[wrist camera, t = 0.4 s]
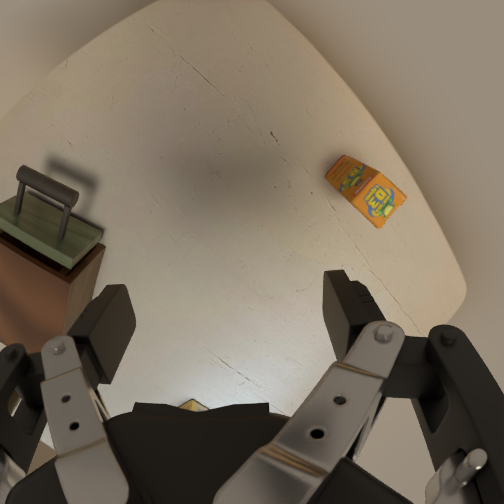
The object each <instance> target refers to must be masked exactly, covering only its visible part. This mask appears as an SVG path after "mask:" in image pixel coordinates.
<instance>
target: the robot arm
mask: <svg viewBox="0 0 504 504" xmlns="http://www.w3.org/2000/svg"><path fill="white" fill-rule="evenodd" d="M323 317H324V321H325V324H326V327H327V330H328V334H329V337H330V340H331V343H332V346H333V349H334V352H335V355H336V359H337V361H335V362H333V363H332V364H331V366H330V367H329V368H328V370H327V371H326V373H325V374H324V375H323V377H322V378H321V379H320V381H319V382H318V383H317V385H316V386H315V387H314V389H313V390H312V391H311V393H310V394H309V395H308V397H307V398H306V399H305V401H304V402H303V403H302V404H301V406H300V407H299V408H298V409H297V411H296V412H295V413H294V414H293V416H292V417H288V416H285V415H281V414H277V413H271V412H269V403H254V404H233V405H229V406H224V407H220V408H215V409H210V410H205V411H199V412H197V411H191V410H187V409H183V408H179V407H175V406H171V405H167V404H154V403H138V402H135V404H134V407H133V410H132V412H128V413H123V414H120V415H117V416H115V417H112V418H111V417H110V414H109V412H108V410H107V408H106V406H105V403H104V401H103V399H102V396H101V394H100V392H99V390H98V388H97V387H98V384H99V383H100V384H111V382H112V380H113V378H114V375H115V373H116V371H117V368H118V366H119V364H120V362H121V359H122V357H123V355H124V353H125V350H126V348H127V346H128V344H129V342H130V339H131V337H132V335H133V333H134V331H135V328H136V318H135V314H134V310H133V307H132V304H131V300H130V297H129V294H128V290H127V288H126V286H125V285H124V284H114V285H106V287H105V288H104V289H103V291H102V292H101V293H100V295H99V296H98V297H96V298H95V299H93V300H92V301H91V302H89V303H88V304H87V306H86V307H85V308H84V310H83V312H82V313H81V314H80V315H79V318H77V320H76V321H75V322H74V324H73V325H72V327H71V328H70V330H69V331H68V332H67V334H66V335H60V336H56V337H53V338H52V339H50V340H48V341H47V342H46V343H45V344H44V345H43V347H42V349H41V352H36V353H30V354H28V352H27V350H26V348H25V347H24V345H23V344H21V343H14V344H11V345H8V346H7V347H5V348H4V349H2V350H1V352H0V504H413V503H412V502H411V501H410V500H408V499H407V498H405V497H404V496H402V495H401V494H399V493H397V492H396V491H395V490H393V489H392V488H390V487H388V486H387V485H386V484H384V483H383V482H381V481H380V480H378V479H377V478H375V477H374V476H373V475H371V474H370V473H368V472H367V471H365V470H364V469H363V468H361V467H360V466H359V465H357V464H356V463H355V461H356V460H357V458H358V456H359V454H360V452H361V450H362V448H363V446H364V444H365V442H366V440H367V438H368V435H369V434H370V432H371V430H372V428H373V426H374V424H375V422H376V420H377V418H378V416H379V414H380V412H381V410H382V408H383V406H384V404H385V402H386V400H387V398H388V397H393V398H410V399H411V402H412V404H413V407H414V410H415V413H416V415H417V418H418V421H419V424H420V427H421V429H422V432H423V435H424V438H425V441H426V444H427V447H428V450H429V453H430V456H431V459H432V463H433V466H434V469H435V472H436V473H435V474H434V475H433V477H432V478H431V479H430V480H429V482H428V484H427V486H426V489H425V497H426V501H425V504H504V394H503V392H502V391H501V389H500V387H499V386H498V384H497V382H496V381H495V379H494V378H493V376H492V374H491V372H490V371H489V369H488V368H487V366H486V365H485V363H484V362H483V360H482V358H481V357H480V355H479V354H478V352H477V351H476V349H475V348H474V346H473V345H472V343H471V342H470V341H469V339H468V338H467V336H466V335H465V333H464V332H463V331H462V330H460V329H459V328H457V327H454V326H451V325H437V326H435V327H433V328H432V329H431V330H430V332H429V335H428V337H412V336H406V335H405V333H404V331H403V329H402V328H401V327H400V326H398V325H397V324H395V323H392V322H389V321H386V319H385V317H384V316H383V314H382V312H381V310H380V309H379V307H378V305H377V304H376V302H375V300H374V299H373V297H372V296H371V294H370V292H369V290H368V289H367V287H366V286H365V285H363V284H362V283H360V282H359V281H350V280H349V278H348V276H347V275H346V273H345V271H344V270H343V269H342V270H331V271H325V272H324V279H323ZM14 390H16V391H17V393H18V394H19V396H20V397H21V399H22V400H21V402H20V404H19V406H18V408H17V410H16V412H15V414H14V416H13V417H12V416H11V415H10V413H9V411H8V401H9V399H10V397H11V396H12V394H13V392H14ZM47 421H48V425H49V429H50V433H51V437H52V441H53V445H54V449H55V452H56V456H55V457H54V458H52V459H51V460H50V461H48V462H46V463H45V464H44V465H42V466H41V467H39V468H38V469H36V470H35V471H34V472H32V473H30V474H29V475H27V472H28V469H29V466H30V464H31V461H32V458H33V456H34V453H35V450H36V448H37V445H38V443H39V440H40V438H41V435H42V433H43V430H44V428H45V426H46V423H47ZM26 475H27V476H26Z"/></svg>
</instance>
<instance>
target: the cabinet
mask: <svg viewBox="0 0 504 504" xmlns="http://www.w3.org/2000/svg"><path fill="white" fill-rule="evenodd" d="M104 250H105V246H103V245H101V244H100V243H97V244H96V245H95V246H94V247H93V248H92V249H91V250H90V253H89V255H88V256H87V257H86V258H85V259H84V260H83V261H82V262H81V263H80V264H79V265H78V266H77V267H76V268H75V269H74V270H73V271H72V272H71V273H70V274H69V275H68V276H65V275H63V274H61V273H59V272H58V271H56V270H54V269H52V268H50V267H49V266H47V265H45V264H43V263H42V262H40V261H38V260H37V259H35V258H33V257H31V256H30V255H28V254H26V253H25V252H23V251H22V250H20V249H18V248H17V247H15V246H13V245H12V244H10V243H9V242H7V241H5V240H4V239H2V238H1V237H0V342H1V343H3V344H4V345H6V346H8V345H11V344H14V343H21V344H23V345H24V347H25V348H26V350H27V352H28V354H30V353H36V352H41V349H42V347H43V345H44V344H45V343H46V342H47V341H48V340H50V339H52V338H53V337H56V336H60V335H66V334H67V332H68V331H69V330H70V328H71V327H72V325H73V324H74V322H75V321H76V320H77V318H79V315H80V314H81V313H82V312H83V310H84V308H85V307H86V306H87V304H88V303H89V302H91V299H92V294H93V290H94V286H95V283H96V279H97V275H98V271H99V268H100V264H101V261H102V257H103V254H104Z"/></svg>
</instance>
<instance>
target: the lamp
mask: <svg viewBox="0 0 504 504" xmlns="http://www.w3.org/2000/svg"><path fill="white" fill-rule="evenodd" d="M20 399H21V397H20V396H19V394H18V393H17V391H16V390H14V392H13V394H12V396H11V397H10V399H9V401H8V411H9V413H10V415H11V414H12V413H13V411H14V409H15V407H16V406H17V404H18V402H19V401H20Z"/></svg>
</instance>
